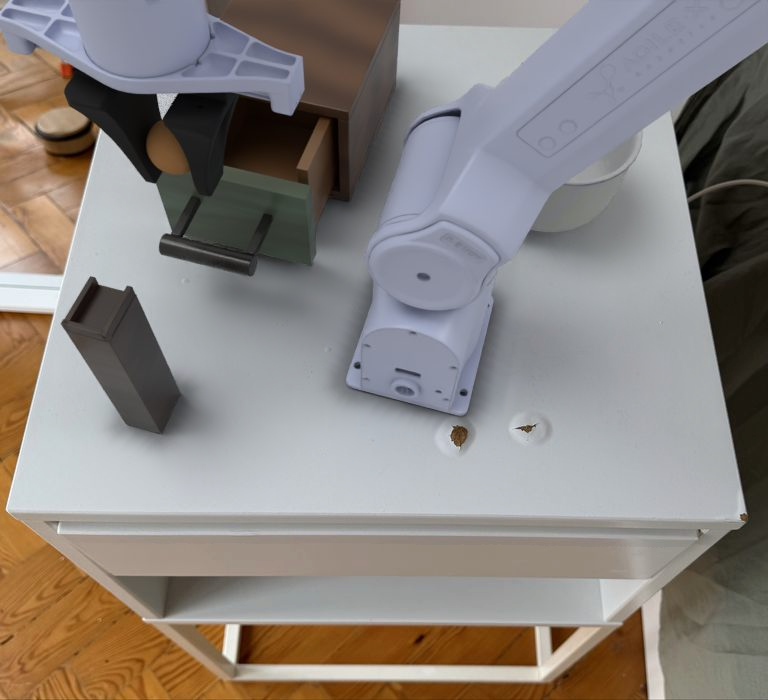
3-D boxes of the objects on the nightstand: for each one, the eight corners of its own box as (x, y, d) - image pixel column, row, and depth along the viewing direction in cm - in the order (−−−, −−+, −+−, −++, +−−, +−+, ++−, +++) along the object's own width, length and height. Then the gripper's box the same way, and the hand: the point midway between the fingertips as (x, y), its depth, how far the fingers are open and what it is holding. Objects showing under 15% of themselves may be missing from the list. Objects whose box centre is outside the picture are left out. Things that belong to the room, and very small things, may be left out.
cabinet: (349, 202, 55) (348, 112, 47) (205, 168, 56) (182, 75, 49) (396, 85, 62) (401, -9, 54) (266, 58, 63) (254, -38, 56)
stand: (161, 434, 45) (105, 335, 35) (125, 424, 45) (60, 323, 35) (181, 393, 46) (133, 286, 36) (146, 383, 47) (89, 275, 37)
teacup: (605, 154, 58) (639, 71, 51) (614, 262, 53) (652, 184, 46) (432, 138, 59) (442, 52, 52) (423, 243, 53) (432, 163, 46)
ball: (193, 192, 40) (183, 151, 37) (142, 177, 40) (130, 136, 38) (215, 155, 41) (208, 113, 39) (167, 141, 42) (156, 99, 39)
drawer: (288, 321, 48) (279, 257, 42) (143, 284, 49) (114, 217, 44) (361, 143, 57) (362, 70, 51) (236, 115, 58) (223, 40, 52)
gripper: (320, -76, 31) (326, 156, 43) (11, -138, 33) (99, 103, 44) (264, 23, 28) (288, 246, 40) (-80, -51, 29) (42, 186, 41)
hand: (184, 177), depth 42 cm, fingers closed on ball, 3 cm apart
